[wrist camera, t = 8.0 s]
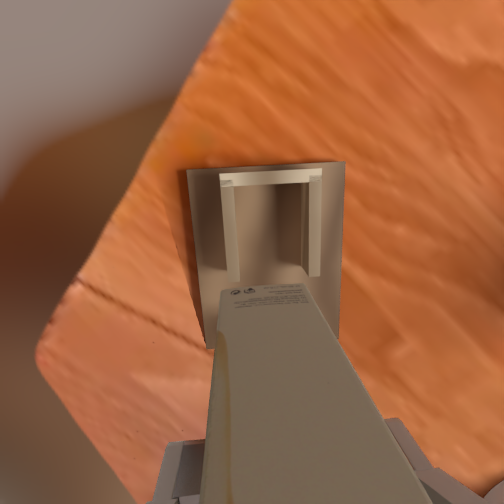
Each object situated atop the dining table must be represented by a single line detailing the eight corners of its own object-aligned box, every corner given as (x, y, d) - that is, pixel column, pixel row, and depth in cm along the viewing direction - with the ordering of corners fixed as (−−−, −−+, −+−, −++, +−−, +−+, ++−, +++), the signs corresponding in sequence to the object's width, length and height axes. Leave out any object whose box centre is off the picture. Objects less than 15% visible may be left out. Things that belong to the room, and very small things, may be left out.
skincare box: (218, 286, 13) (98, 1089, 2) (306, 279, 14) (752, 970, 2) (229, 392, 15) (208, 1127, 4) (306, 385, 15) (531, 1066, 4)
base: (340, 162, 25) (360, 159, 21) (334, 333, 30) (349, 357, 26) (188, 170, 25) (179, 168, 21) (207, 342, 30) (202, 368, 26)
